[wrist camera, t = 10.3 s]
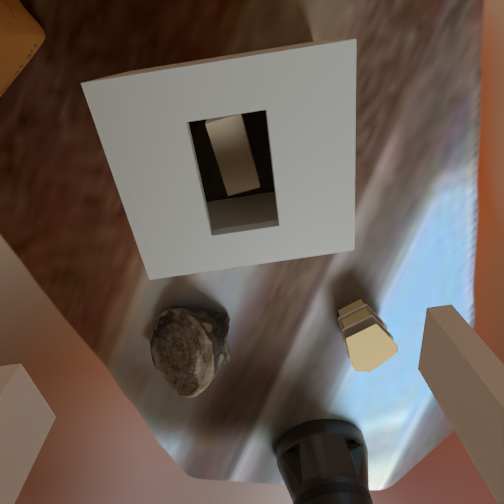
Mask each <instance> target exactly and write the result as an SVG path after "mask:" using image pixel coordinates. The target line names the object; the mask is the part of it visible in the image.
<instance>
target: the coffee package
mask: <svg viewBox="0 0 504 504" xmlns="http://www.w3.org/2000/svg"><path fill="white" fill-rule="evenodd" d="M45 37H46V36H45V31H44V29H43V28H42V27H41V25H40V24H39V23H38V22H37V21H36V20H35V19H34V18H33V17H32V16H31V15H30V14H29V12H28V11H27V10H26V9H25V8H24V6H23V5H22V4H21V2H20V1H19V0H0V97H1V95H2V94H3V93H4V92H5V91H6V89H7V88H8V87H9V86H10V85H11V83H12V82H13V81H14V80H15V78H16V77H17V76H18V75H19V73H20V72H21V71H22V70H23V68H24V67H25V66H26V65H27V63H28V62H29V61H30V60H31V58H32V57H33V56H34V54H35V53H36V52H37V50H38V49H39V48H40V46H41V45H42V43H43V41H44V40H45Z"/></svg>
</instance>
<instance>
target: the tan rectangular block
mask: <svg viewBox="0 0 504 504" xmlns="http://www.w3.org/2000/svg"><path fill="white" fill-rule="evenodd" d="M205 125H206V128H207V131H208V134H209V138H210V141H211V144H212V147H213V150H214V153H215V156H216V160H217V163H218V166H219V169H220V172H221V175H222V179H223V182H224V185H225V188H226V191H227V194H228V196H230V195H234V194H237V193H241V192H245V191H248V190H252V189H256V188H260V184H259V179H258V174H257V170H256V165H255V161H254V157H253V153H252V149H251V146H250V142H249V138H248V134H247V130H246V126H245V123H244V119H243V115H242V114H236V115H230V116H223V117H217V118H211V119H207V120H206V123H205Z"/></svg>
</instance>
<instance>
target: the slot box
mask: <svg viewBox="0 0 504 504" xmlns="http://www.w3.org/2000/svg"><path fill="white" fill-rule="evenodd" d="M81 86H82V89H83V91H84V94H85V97H86V100H87V103H88V106H89V109H90V111H91V114H92V117H93V120H94V123H95V126H96V129H97V132H98V134H99V137H100V140H101V143H102V146H103V149H104V152H105V154H106V157H107V160H108V163H109V166H110V169H111V172H112V174H113V177H114V180H115V183H116V186H117V189H118V192H119V194H120V197H121V200H122V203H123V206H124V209H125V212H126V215H127V217H128V220H129V223H130V226H131V229H132V232H133V235H134V237H135V240H136V243H137V246H138V249H139V252H140V255H141V257H142V260H143V263H144V266H145V269H146V272H147V275H148V278H149V280H153V279H160V278H166V277H173V276H180V275H187V274H194V273H201V272H208V271H215V270H221V269H228V268H235V267H242V266H249V265H256V264H263V263H270V262H276V261H283V260H290V259H297V258H304V257H311V256H318V255H325V254H332V253H338V252H345V251H352V250H354V243H355V138H356V39H345V40H328V41H313V42H307V43H301V44H294V45H288V46H282V47H276V48H270V49H263V50H257V51H251V52H245V53H238V54H232V55H226V56H220V57H214V58H207V59H201V60H195V61H189V62H183V63H176V64H170V65H164V66H158V67H151V68H145V69H139V70H133V71H128V72H124V73H120V74H116V75H112V76H108V77H104V78H100V79H95V80H91V81H87V82H83V83H81ZM262 110H266V119H267V128H268V137H269V146H270V155H271V164H272V173H273V182H274V190H275V192H269V193H262V194H256V195H249V196H242V197H236V198H229V199H222V200H216V201H209V202H206V199H205V195H204V190H203V186H202V181H201V176H200V172H199V167H198V163H197V158H196V154H195V149H194V145H193V140H192V136H191V131H190V126H189V122H191V121H198V120H204V119H211V118H217V117H223V116H230V115H236V114H243V113H249V112H255V111H262Z"/></svg>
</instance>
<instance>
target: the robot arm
mask: <svg viewBox="0 0 504 504" xmlns="http://www.w3.org/2000/svg"><path fill="white" fill-rule="evenodd" d="M418 369H419V371H420V372H421V374H422V376H423V378H424V379H425V381H426V383H427V384H428V386H429V388H430V389H431V391H432V393H433V395H434V396H435V398H436V400H437V401H438V403H439V405H440V406H441V408H442V410H443V412H444V413H445V415H446V417H447V418H448V420H449V422H450V423H451V425H452V427H453V429H454V430H455V432H456V434H457V435H458V437H459V439H460V440H461V442H462V444H463V446H464V447H465V449H466V451H467V452H468V454H469V456H470V457H471V459H472V461H473V462H474V464H475V466H476V468H477V469H478V471H479V473H480V474H481V476H482V478H483V480H484V481H485V483H486V484H487V486H488V488H489V490H490V491H491V493H492V495H493V497H494V498H495V500H496V502H497V503H498V504H504V365H503V364H502V362H501V361H500V360H499V359H498V358H497V357H496V356H495V355H494V353H493V352H492V351H491V350H490V349H489V347H488V346H487V345H486V344H485V343H484V342H483V341H482V339H481V338H480V337H479V336H478V335H477V334H476V332H475V331H474V330H473V329H472V328H471V327H470V326H469V324H468V323H467V322H466V321H465V320H464V319H463V317H462V316H461V315H460V314H459V313H458V312H457V311H456V309H455V308H454V307H453V306H452V305H445V306H438V307H431V308H427V312H426V319H425V326H424V333H423V340H422V347H421V353H420V360H419V367H418ZM55 418H56V417H55V415H54V413H53V412H52V410H51V409H50V407H49V406H48V404H47V403H46V401H45V399H44V398H43V397H42V395H41V394H40V392H39V390H38V389H37V387H36V386H35V384H34V383H33V381H32V380H31V378H30V377H29V375H28V373H27V372H26V370H25V369H24V368H23V366H22V364H14V365H7V366H0V504H14V503H15V501H16V499H17V497H18V495H19V493H20V490H21V488H22V486H23V484H24V482H25V480H26V478H27V476H28V474H29V472H30V470H31V468H32V465H33V463H34V461H35V459H36V457H37V455H38V453H39V451H40V449H41V447H42V445H43V442H44V440H45V438H46V436H47V434H48V432H49V430H50V428H51V426H52V424H53V422H54V420H55ZM276 457H277V465H278V468H279V471H280V473H281V475H282V478H283V480H284V482H285V485H286V487H287V489H288V491H289V494H290V496H291V498H292V501H293V504H373V503H372V499H371V496H370V493H369V489H368V451H367V447H366V444H365V441H364V438H363V435H362V433H361V432H360V431H359V430H358V429H357V428H356V427H355V426H353V425H351V424H349V423H346V422H342V421H337V420H318V421H312V422H308V423H305V424H302V425H299V426H297V427H295V428H293V429H291V430H290V431H288V432H287V433H286V434H284V435H283V436H282V437H281V439H280V440H279V442H278V444H277V446H276Z"/></svg>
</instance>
